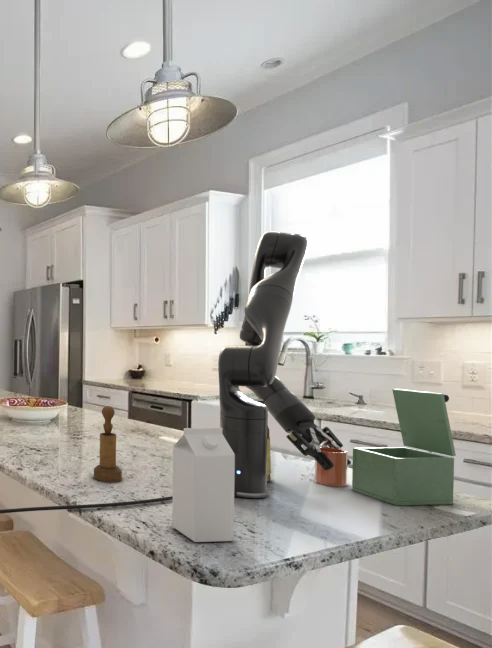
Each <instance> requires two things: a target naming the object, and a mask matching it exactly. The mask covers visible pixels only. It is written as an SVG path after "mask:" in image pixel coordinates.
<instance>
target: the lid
mask: <svg viewBox="0 0 492 648" xmlns="http://www.w3.org/2000/svg"><path fill="white" fill-rule="evenodd" d="M392 396H393V399H394V405H395V410H396V414H397V419H398V424H399V429H400V434H401V438H402V444H403V445H402V446H403V447H407V448H412V449H416V450H421V451H425V452H430V453H434V454H439V455H444V456H448V457H457V456H456V449H455V445H454V439H453V435H452V434H453V433H452V430H451V429H452V428H451V424H450V420H449V414H448V409H447V404H446V403H448V402H449V400H450V397H449V395H447V394H444V393H441V392H433V391H432V392H431V391H423V390H422V391H421V390H413V389H403V388H392Z"/></svg>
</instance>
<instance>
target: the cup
mask: <svg viewBox="0 0 492 648" xmlns="http://www.w3.org/2000/svg"><path fill="white" fill-rule="evenodd" d="M327 447H328V446H327ZM327 447H319V448H320V450H321V452H323V453H324V454H325V455H326V457H327V458H328V459H329V460H330V461H331V462H332V463H333V465H334V466H333V467H332V468H331V469H329V470H324V469H323V468H322V466H321V465H320V464H319V463H318V462H317V461H316V460H315V459H314V482H316V483H317V484H320V485H324V486H327V487H328V486H329V487H336V488H337V487H338V488H340V487H341V488H343V487H346V486H347V485H348V466H347V458H348V451H347V450H345V449H342V448H341V449H336V448H327ZM321 452H320V453H321Z"/></svg>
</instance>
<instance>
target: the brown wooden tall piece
mask: <svg viewBox="0 0 492 648" xmlns="http://www.w3.org/2000/svg"><path fill="white" fill-rule="evenodd" d="M101 415H102V417H103V419H104V423H103V424H102V426H103V432H100V433H99V464H98V465H96V466H95V467H93V478H94V479H95V480H97V481H101V482H105V483H106V482H107V483H116V482H121V481H123V470H122V469H121V468H120V466H118V465H117V433H115V432H112V431H113V426H114V425H113V424H112V419H113V417H114V416H115V409H114V407H112V406H109V405H107V406H104V407H103V408H102V409H101Z"/></svg>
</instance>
